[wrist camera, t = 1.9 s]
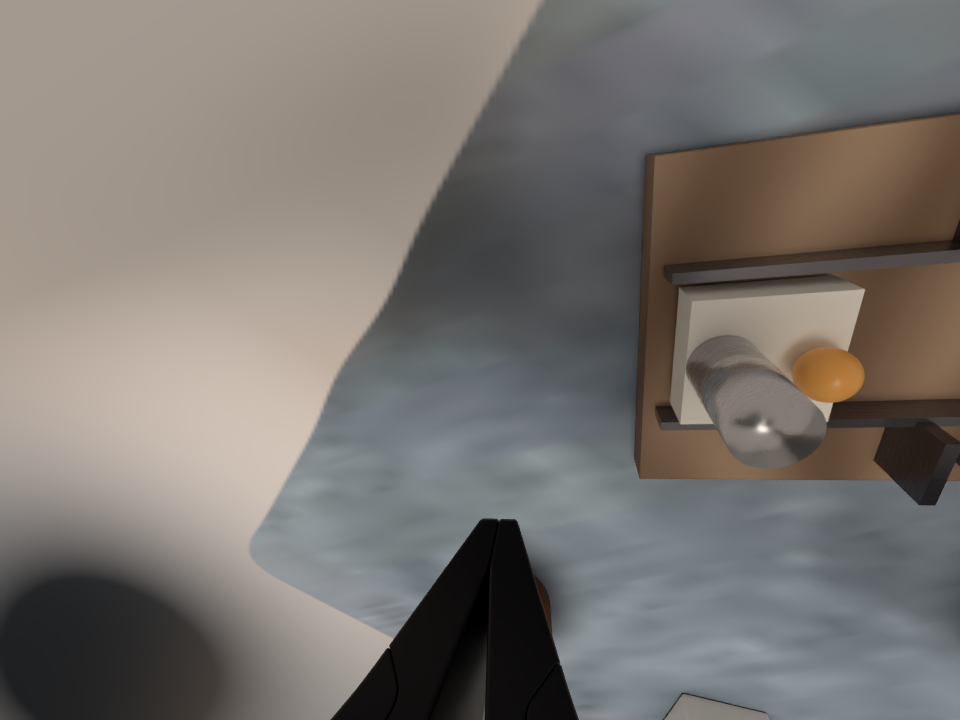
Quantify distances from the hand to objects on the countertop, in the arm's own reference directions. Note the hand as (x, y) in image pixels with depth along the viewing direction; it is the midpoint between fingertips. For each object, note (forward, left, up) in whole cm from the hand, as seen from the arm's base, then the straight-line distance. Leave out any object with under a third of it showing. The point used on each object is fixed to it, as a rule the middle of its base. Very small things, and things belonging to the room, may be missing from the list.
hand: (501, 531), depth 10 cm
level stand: (-14, 0, -11) cm, 18 cm away
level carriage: (-8, 0, -9) cm, 12 cm away
